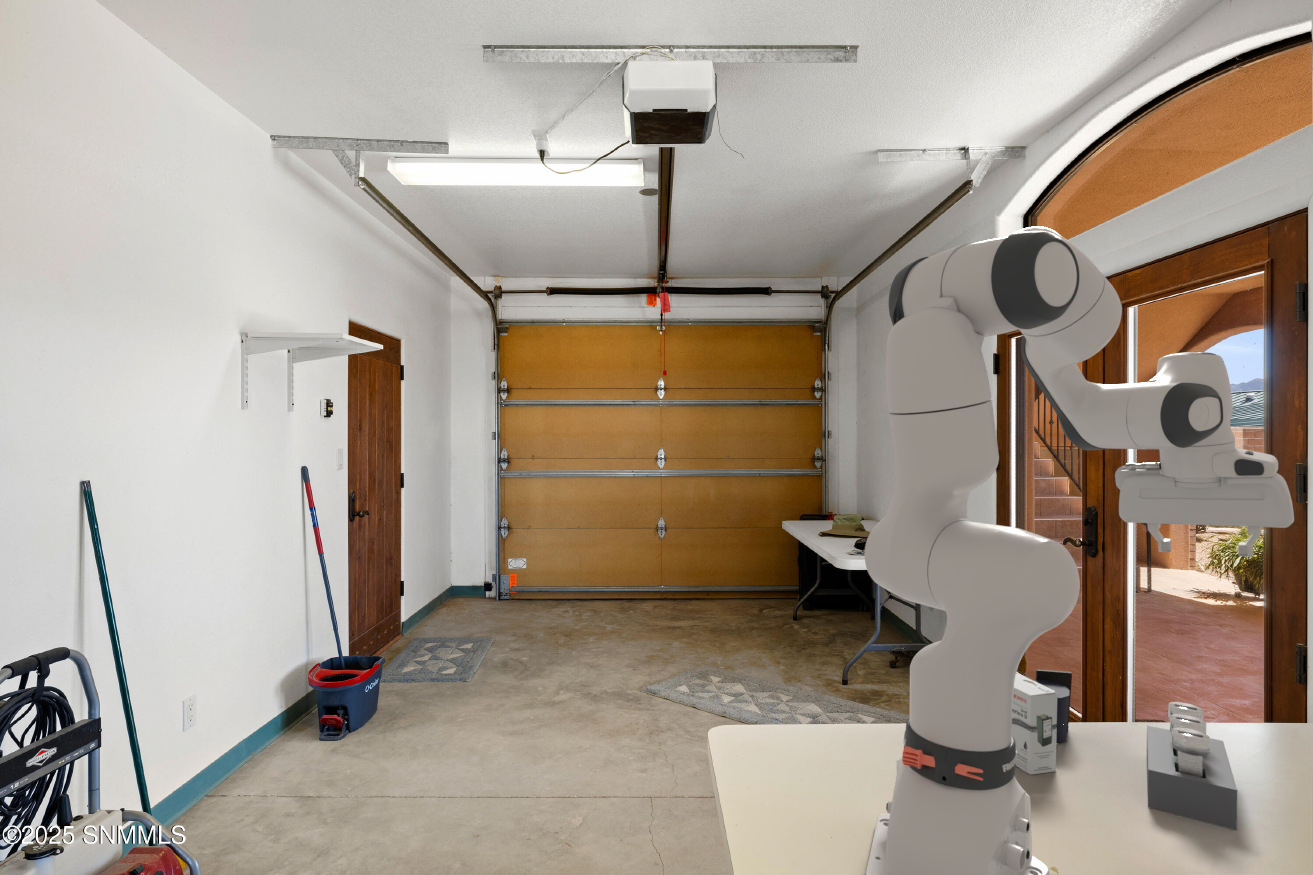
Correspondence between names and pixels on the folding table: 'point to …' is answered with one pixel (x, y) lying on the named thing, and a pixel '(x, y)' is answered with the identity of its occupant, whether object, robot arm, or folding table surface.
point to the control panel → (1190, 782)
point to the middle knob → (1187, 723)
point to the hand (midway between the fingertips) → (1204, 553)
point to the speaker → (1058, 697)
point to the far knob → (1184, 709)
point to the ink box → (1034, 725)
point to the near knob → (1190, 749)
